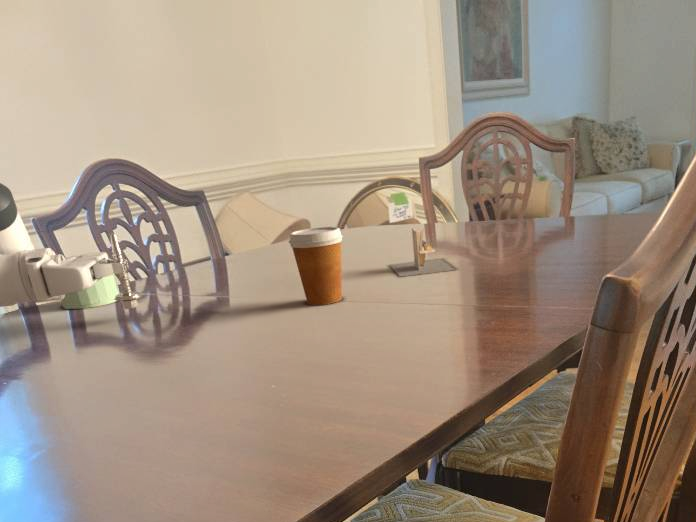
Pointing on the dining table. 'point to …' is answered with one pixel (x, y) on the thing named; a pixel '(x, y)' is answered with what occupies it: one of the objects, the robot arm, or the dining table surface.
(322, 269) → the disposable coffee cup
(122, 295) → the screw
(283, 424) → the dining table surface
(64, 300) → the green cup
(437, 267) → the architectural model
